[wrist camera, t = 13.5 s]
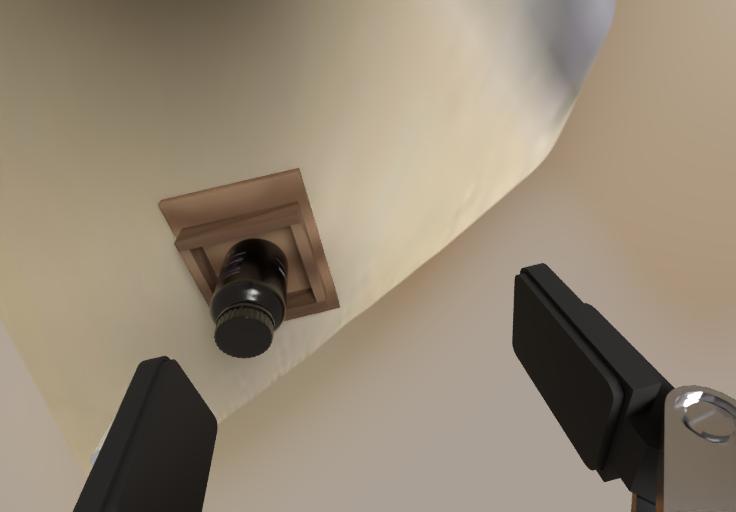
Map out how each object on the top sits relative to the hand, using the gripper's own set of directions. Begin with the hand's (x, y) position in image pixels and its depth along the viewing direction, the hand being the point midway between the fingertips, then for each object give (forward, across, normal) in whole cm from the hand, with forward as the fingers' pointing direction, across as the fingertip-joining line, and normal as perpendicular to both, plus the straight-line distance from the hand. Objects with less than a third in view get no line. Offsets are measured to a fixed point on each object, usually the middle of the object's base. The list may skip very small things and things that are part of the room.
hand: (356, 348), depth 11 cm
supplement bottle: (+30, +10, +14) cm, 34 cm away
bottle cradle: (+30, +10, +14) cm, 35 cm away
